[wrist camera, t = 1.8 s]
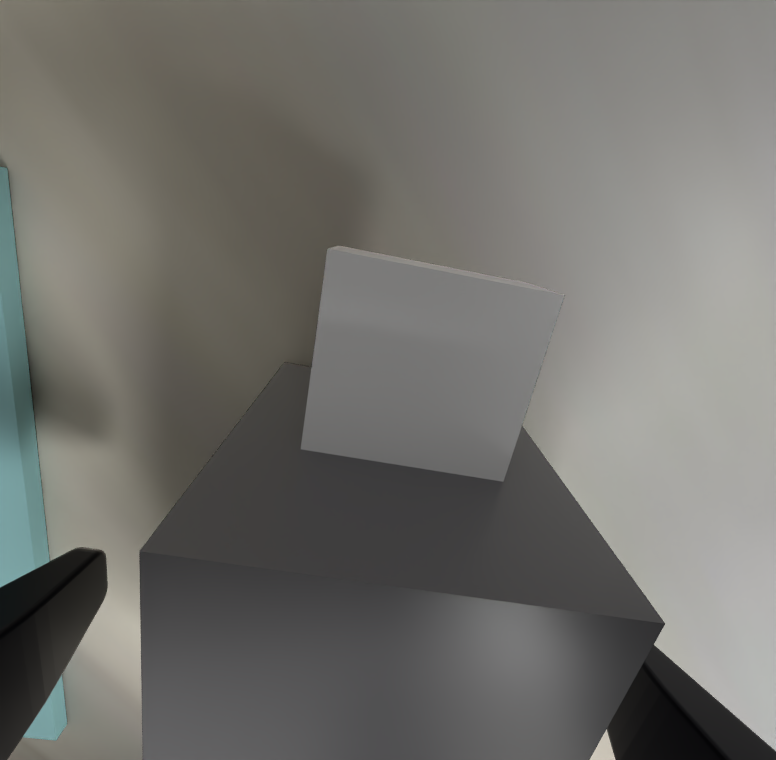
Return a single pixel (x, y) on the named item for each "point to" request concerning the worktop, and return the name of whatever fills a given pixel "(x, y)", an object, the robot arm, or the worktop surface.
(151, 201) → the worktop surface
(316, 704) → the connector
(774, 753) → the robot arm
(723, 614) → the worktop surface
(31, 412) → the mat
